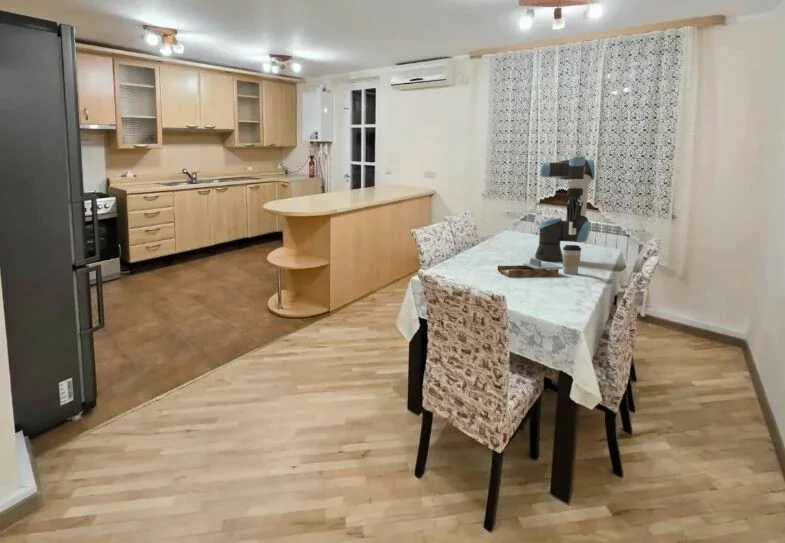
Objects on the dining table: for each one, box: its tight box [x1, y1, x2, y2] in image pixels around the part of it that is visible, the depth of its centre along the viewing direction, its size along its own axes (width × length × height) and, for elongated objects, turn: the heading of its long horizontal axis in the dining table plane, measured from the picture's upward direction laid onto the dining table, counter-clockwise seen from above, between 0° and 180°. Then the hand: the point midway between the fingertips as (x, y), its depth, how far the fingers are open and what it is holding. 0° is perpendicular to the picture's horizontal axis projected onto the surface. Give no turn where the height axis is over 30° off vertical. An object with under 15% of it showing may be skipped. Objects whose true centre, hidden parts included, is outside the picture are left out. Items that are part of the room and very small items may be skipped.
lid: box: [523, 257, 563, 270], centre depth 246 cm, size 14×16×4 cm
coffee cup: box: [562, 244, 582, 276], centre depth 248 cm, size 9×9×15 cm
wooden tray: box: [497, 264, 560, 278], centre depth 246 cm, size 26×16×4 cm, turn 99°
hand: (572, 234), depth 246 cm, fingers closed
